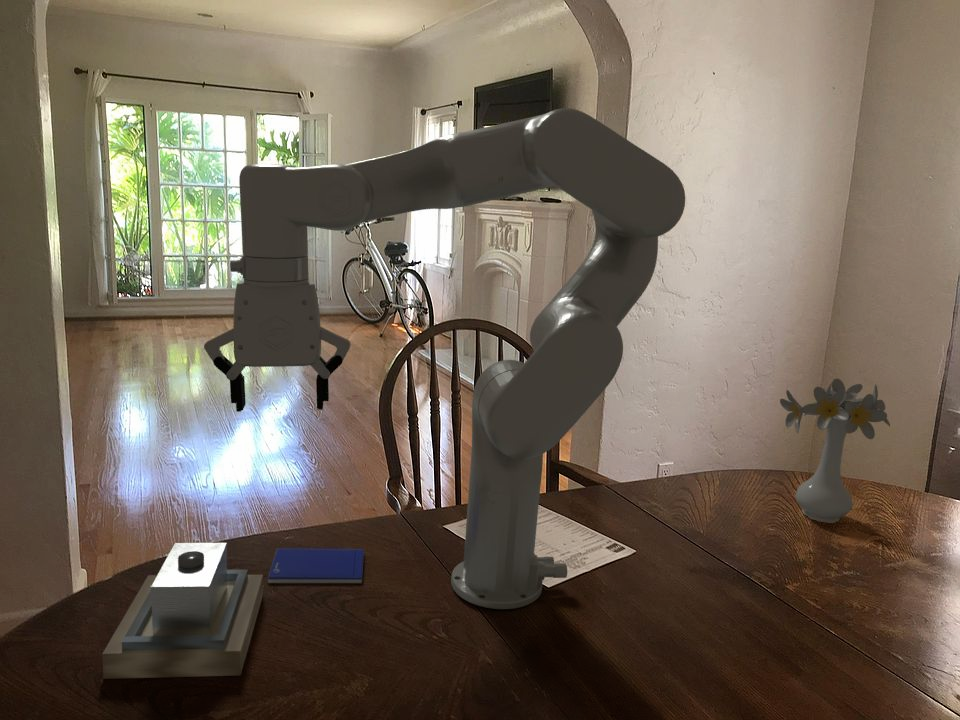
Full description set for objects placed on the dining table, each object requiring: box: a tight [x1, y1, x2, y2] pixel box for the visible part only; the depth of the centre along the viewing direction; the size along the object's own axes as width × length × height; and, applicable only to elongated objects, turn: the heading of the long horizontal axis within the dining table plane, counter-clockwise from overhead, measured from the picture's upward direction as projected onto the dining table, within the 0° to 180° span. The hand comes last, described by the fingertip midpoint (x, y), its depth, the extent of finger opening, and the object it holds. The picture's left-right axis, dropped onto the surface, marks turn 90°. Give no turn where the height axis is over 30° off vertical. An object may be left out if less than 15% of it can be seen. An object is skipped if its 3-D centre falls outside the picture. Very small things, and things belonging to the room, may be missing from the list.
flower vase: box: [779, 377, 891, 522], centre depth 129 cm, size 13×18×25 cm
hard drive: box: [267, 547, 365, 584], centre depth 103 cm, size 2×8×12 cm
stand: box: [101, 569, 264, 680], centre depth 86 cm, size 14×16×4 cm
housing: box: [151, 542, 228, 636], centre depth 85 cm, size 10×6×7 cm, turn 8°
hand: (281, 407), depth 92 cm, fingers open, 9 cm apart
